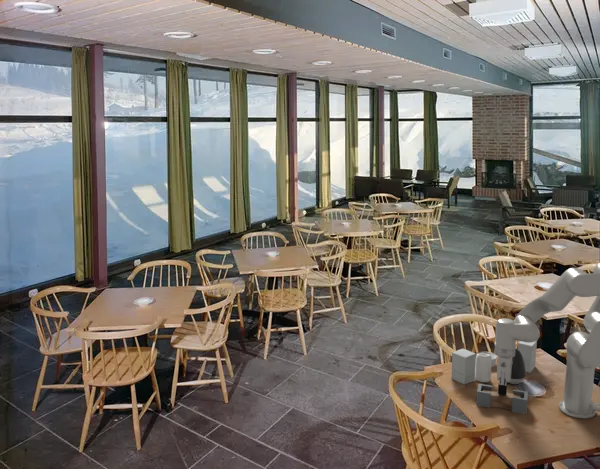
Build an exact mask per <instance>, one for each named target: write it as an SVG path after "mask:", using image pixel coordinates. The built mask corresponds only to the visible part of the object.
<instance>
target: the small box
mask: <svg viewBox="0 0 600 469" xmlns="http://www.w3.org/2000/svg"><path fill="white" fill-rule="evenodd" d="M537 342H538V340H537V341H535V342H531V343H529V342H522V341H518V342H517V349H518V350H519V351H520V352H521V354H522V356H523V359H524V363H525V369H526V373H530V374H531V373H532V371H533V370H534V369H535V367H536V360H537V345H538V343H537Z"/></svg>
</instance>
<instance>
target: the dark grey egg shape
mask: <svg viewBox="0 0 600 469" xmlns="http://www.w3.org/2000/svg"><path fill="white" fill-rule="evenodd" d="M526 376H527V372H526V369H525V363H524V359H523V356H522V354H521V352H520V351H519V350H518V348H517V347H515V356H514V357H512V371H511V381H510V382H507V384H511V385H517V384H521V383H522V382H524V380H525V378H526Z"/></svg>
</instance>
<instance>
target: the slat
mask: <svg viewBox="0 0 600 469" xmlns="http://www.w3.org/2000/svg"><path fill="white" fill-rule="evenodd" d="M483 391H484V392H490V393H491V404H490V407H492V408H493V407H494V408H500V409H501V408H502V409H506V410H507V409H508V410H512V402H513V397H519V398H521V397H520V395H518V394H513V393H510V392H509V393H508V392H507V394H506V395H502V394H498V391H493V390H492V391H487V390H483Z"/></svg>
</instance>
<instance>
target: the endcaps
mask: <svg viewBox="0 0 600 469" xmlns="http://www.w3.org/2000/svg"><path fill="white" fill-rule="evenodd" d="M483 390H487V391H493V385H489V384H484V383H478V385H477V390H476V404H475V405H476V406H478V407H479V406H480V407H484V408H491V406H490V404H491V393H490V392H484V391H483ZM512 394H518V395H520V397H521V398H519V397H513V402H512V409H511V412H512V413H517V414H523V415H527V412H528V411H527V410H528V408H527V407H528V391H524V390H520V389H519V390H518V389H513V391H512Z"/></svg>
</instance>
